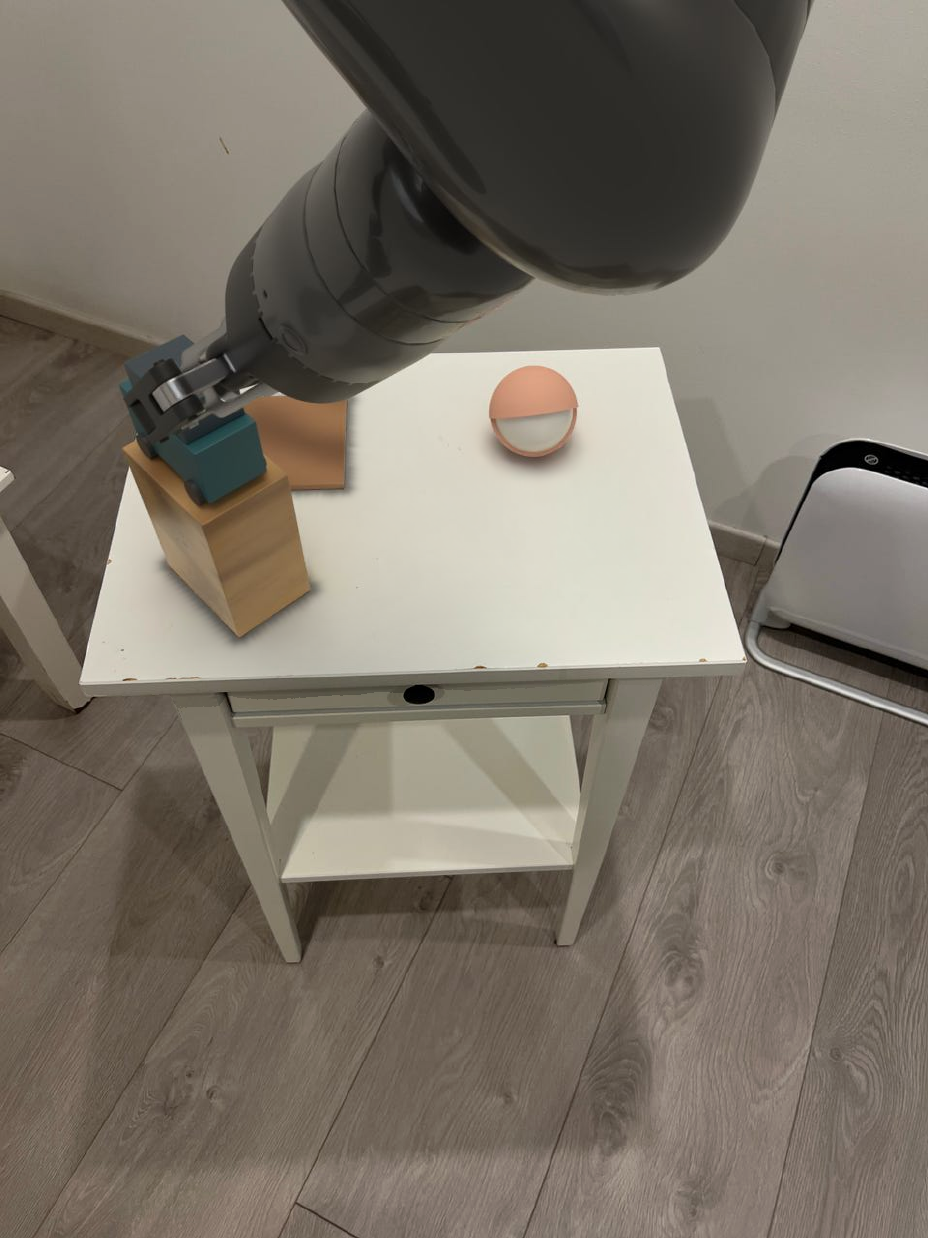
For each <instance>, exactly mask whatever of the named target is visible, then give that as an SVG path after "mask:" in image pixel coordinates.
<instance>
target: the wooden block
mask: <svg viewBox="0 0 928 1238" xmlns="http://www.w3.org/2000/svg"><path fill="white" fill-rule="evenodd" d="M122 452H123V454H124V457H125V459H126V462H127V465H128V467H129V469H130V472H131V474H132V477H133V479H134V482H135V484H136V487H137V489H138V492H139V494H140V497H141V499H142V502H143V505H144V507H145V509H146V511H147V515H148V517H149V520H150V522H151V524H152V527H153V529H154V532H155V534H156V536H157V539H158V541H159V544H160V547H161V550H162V552H163V554H164V557H165V560H166V562H167V564H168V566H169V567H170V568H171V569H172V570H173V572H175V573H176V574H177V575H178V576H179V577H180V578H181V579H182V580H183V582H185V584H187V586H188V587H189V588H190V589H191V590H192V591H193V592H194V593H195V594H196V595H197V596H198V597H199V598H200V599H201V600H202V601H203V602H204V603H205V604H206V605H207V606H208V607H209V609H211V611H213V612H214V614H216V616H217V617H218V618H219V619H220V620H221V621H222V622H223V623H224V624H225V625H226V626H227V627H228V628H229V629H230V630H231V631H232V633H234V634H235V635H236V637H238V638H241V637H243V636H245V635H246V634H248V633H249V632H251V631H252V630H253V629H255V628H256V627H258V626H259V625H261V624H262V623H264V622H265V621H267V620H269V618H271V617H272V616H274V615H275V614H277V613H279V612H280V611H282V610H283V609H284V608H286V607H288V606H289V605H290V604H292V603H293V602H295V601H296V600H298V599H299V598H301V597H303V596H304V595H305V594H306V593H308V592H310V591H311V584H310V579H309V574H308V570H307V564H306V559H305V555H304V550H303V544H302V540H301V534H300V530H299V529H300V528H299V525H298V520H297V519H298V518H297V515H296V509H295V504H294V500H293V494H292V490H291V489H290V484H289V479H288V475H287V474H286V473H285V472H284V471H283V470H282V469H281V468H279V467H278V466H277V465H276V464H275V463H274V462H272V461H271V460H270V459H269V458H268V457H267V456H265V455H264V454H263V455H264V457H265V460H266V463H267V466H266V468H267V471H266V472H264V473H262V474H261V475H259V476H257V477H256V478H254V479H252V480H250V481H249V482H247V483H245V484H244V485H242V486H240V487H238V488H237V489H235V490H233V491H231V492H230V493H228V494H226V495H225V496H223V497H221V498H219V499H218V500H216V501H214V502H213V503H211V504H209V503H208V502H205V503H204V504H202V505H200V506H198V505H196V504H195V503H194V502H193V501H192V499H191V498H190V497H189V495H188V493H187V492H186V490H185V487H184V482H185V480H184V479H183V478H182V477H181V476H180V475H179V474H178V473H177V472H176V471H175V470H174V469H173V468H172V467H171V466H170V465H169V464H168V463H167V462H166V461H165V460H164V459H162V458H161V457H160V456H159V455H157V456H155V457H153V458H151V459H149V458H148V457H147V456H146V455H145V454H144V453H143V452H142V450H141V449H140V447H139V445H138V443H137V441H136V440H133V442H130V443H129V444H127V445H125V446H123V447H122Z"/></svg>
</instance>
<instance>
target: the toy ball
mask: <svg viewBox="0 0 928 1238" xmlns="http://www.w3.org/2000/svg"><path fill="white" fill-rule="evenodd" d="M578 402H579V401H578V398H577V395H576V392H575V390H574V389H573V386H572V385H571V383H570V382H569V381H568V380H567V379H566V378H565V377H564V376H563V375H562V374H561V373H559V372H558V371H556V370H555V369H552V368H551V367H547V366H543V365H526V366H522V367H519V368H517V369H514V370H512V371H511V372H510V373H508V374H507V375H506V376H504V377H503V378H502V379H501V380H500V382H499V383H498V384H497V385H496V387H495V388H494V390H493V393H492V395H491V397H490V402H489V407H488V418H489V419H490V424H491V427H492V430H493V433H494V435H495V436H496V438H497V440H499V442H500V443H501V444H502V445H503V446H504V447H505V448H507V449H508V450H510V451H511V452H512V453H514V454H517V455H520V456H524V457H532V458H533V457H535V458H536V457H543V456H547V455H550V454H552V453H554V452H556V451H557V450H559V449H560V448H562V447H563V445H565V443H566V442H568V440H569V439H570V437H571V435H572V434H573V431H574V429H575V426H576V423H577V418H578V409H577V408H579V403H578Z"/></svg>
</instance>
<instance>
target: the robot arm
mask: <svg viewBox="0 0 928 1238" xmlns="http://www.w3.org/2000/svg"><path fill="white" fill-rule="evenodd" d="M280 1H281V2H282V3H283V5H284V6H285V8H286V9H287V10H288V11H289V13H290V14H291V15H292V17H293V18H294V19H295V21H296V22H297V23H298V25H299V26H300V27H301V29H302V30H303V31H304V32H305V33H306V35H307V37H308V38H309V39H310V41H311V42H312V43H313V44H314V45H315V46H316V48H317V49H318V50H319V51H320V52H321V54H322V55H323V56H324V57H325V58H326V61H328V62H329V63H330V65H331V66H332V67H333V68H334V69H335V71H336V72H337V73H338V74H339V76H340V77H341V78H342V79H343V80H344V82H345V83H346V84H347V85H348V86H349V88H350V89H351V90H352V91H353V93H354V94H355V96H356V97H357V98H358V99H359V100H360V102H361V103H362V104H363V106H364V107H365V108H366V109H364V110H363V111H362V112H361V113H360V115H358V116H357V118H356V119H355V120H354V121H353V123H352V124H351V125H350V126H349V128H348V129H347V130H346V131H345V133H344V134H343V135H342V136H341V138H340V139H339V140H338V141H337V142H336V143H335V145H334V146H333V148H332V149H331V150H330V151H329V152H328V154H327V155H326V156H325V157H324V158H323V160H322V161H320V162H318V163H317V164H316V165H314V166H313V167H311V169H309V170H308V171H307V172H305V173H304V174H302V176H301V177H300V178H299V179H298V180H297V181H296V182H295V183H294V184H293V185H292V187H290V189H288V191H287V192H286V193H285V195H284V196H283V197H282V199H281V200H280V201H279V203H277V205H276V206H275V208H274V209H273V210H272V211H271V213H270V214H269V215H268V216H267V218H266V219H265V220H264V222H263V223H262V224H261V226H259V228H258V229H257V230H256V231H255V233H254V235H252V237H251V238H250V240H249V241H248V242H247V243H246V244H245V246H244V247H243V248H242V250H241V251H240V252H239V254H238V255H237V257H236V258H235V260H234V262H233V264H232V266H231V268H230V271H229V274H228V276H227V281H226V285H225V291H224V293H225V294H224V313H225V316H224V317H222V319H221V321H220V325H219V327H218V328H216V329H215V330H212V332H210V333H208V334H207V335H206V336H204V337H203V338H201V339H199V340H198V341H197V342H194V343H195V344H193V345H192V346H190V347H189V348H187V349H186V350H185V351H183V353H182V355H181V360H182V365H181V367H179V366H178V364H177V362H175V361H174V359H173V358H170V359H167V360H165V361H164V359H161V360H159V361H157V362H155V363H154V364H153V366H154V367H152V368H151V369H149V370H148V371H147V372H146V374H145V375H144V376H143V377H142V378H141V379H140V380H139V381H138V382H137V383H136V385H135V386H134V387H133V388H132V389H131V390H130V391H128V393H127V394H126V396H125V397H124V398H122V400H123V402H124V403H125V404H126V405H127V406H128V408H130V409H131V410H132V412H133V414H134V415H135V417H136V418H137V420H138V421H139V423H140V424H141V426H142V428H143V429H144V431H145V432H146V434H147V435H148V436H147V437H148V439H149V440H150V442H151V444H152V445H154V444H156V443H158V442H160V444H162V443H164V442H166V441H168V440H170V438H169V436H171V435H172V434H175V435H178V434H180V433H181V432H183V431H185V430H187V429H189V428H190V429H192V428H194V427H196V426H197V425H199V423H198V422H199V421H200V420H202V419H204V418H205V417H207V416H209V415H210V414H214V415H216V416H217V417H220V418H223V417H225V416H227V415H230V414H232V413H234V412H236V411H238V410H240V409H241V408H243V407H245V406H246V405H248V404H250V403H251V402H253V401H255V400H256V399H258V398H260V397H262V396H265V397H270V396H275V395H277V394H278V393H280V394H282V395H283V396H288V397H291V398H293V399H296V400H299V401H303V402H308V403H317V404H326V403H335V402H340V401H343V400H346V399H347V400H349V399H351V398H354V397H355V396H357V395H359V394H361V393H363V392H364V391H367V390H368V389H370V388H372V387H374V386H375V385H378V384H379V383H381V382H384V380H387V379H388V378H390V377H392V376H394V375H396V374H397V373H399V372H401V371H403V370H405V369H407V368H408V367H411V366H412V365H414V364H415V363H417V362H419V361H421V360H423V359H424V358H425V357H427V356H429V355H430V354H432V353H433V352H434V351H435V350H437V349H438V348H439V347H440V346H441V345H442V344H443V343H444V342H445V341H447V339H449V337H451V336H452V335H454V334H455V333H457V332H458V331H460V330H462V329H464V328H465V327H467V326H470V325H471V324H472V323H474V322H476V321H478V320H480V319H482V318H483V317H485V316H487V315H489V314H491V313H493V312H494V311H497V309H500V308H501V307H503V306H504V305H506V304H507V303H508V302H510V301H511V300H513V299H514V298H515V297H517V296H518V295H519V294H521V293H522V292H523V291H524V290H525V289H527V287H529V286H530V285H531V284H532V283H533V282H534V281H535V280H536V279H538V280H539V281H542V282H545V283H547V284H550V285H552V286H553V285H554V286H556V287H558V288H561V289H565V290H568V291H571V292H575V293H582V294H587V295H596V296H605V297H607V296H608V297H621V296H630V295H631V296H632V295H637V294H645V293H648V292H653V291H657V290H659V289H662V288H664V287H666V286H669V285H671V284H673V283H676V282H678V281H681V280H682V279H684V278H685V277H687V276H689V275H690V274H692V273H693V272H694V271H696V270H697V269H698V268H700V267H701V266H702V265H703V264H705V263H706V262H707V260H709V259H710V258H711V256H713V255H714V253H716V251H717V250H718V249H719V247H720V246H721V245H722V244H723V242H724V241H725V240H726V238H727V237H728V236H729V234H730V232H731V231H732V230H733V227H734V225H735V224H736V222H737V220H738V218H739V217H740V215H741V213H742V211H743V209H744V207H745V205H746V203H747V201H748V199H749V197H750V194H751V192H752V188H753V186H754V183H755V180H756V177H757V174H758V172H759V169H760V166H761V163H762V160H763V157H764V154H765V151H766V148H767V145H768V142H769V138H770V135H771V133H772V129H773V127H774V124H775V120H776V118H777V114H778V111H779V108H780V104H781V103H782V102H781V101H782V98H783V95H784V93H785V89H786V87H787V83H788V80H789V78H790V74H791V70H792V68H793V64H794V61H795V58H796V55H797V52H798V50H799V49H798V48H799V45H800V43H801V40H802V38H803V36H804V33H805V30H806V27H807V24H808V21H809V18H810V15H811V12H812V10H813V7H814V3H815V0H280ZM247 388H248V389H247ZM243 389H246V390H245V391H243V392H242V393H240V395H237V394H235V393H233V392H232V391H237V390H243ZM201 393H202V394H203V396H204V398H205V403H204V405H202V403H201V401H200V400H199V398H198V397H197V396H198V395H200V394H201ZM127 406H126V407H127ZM128 408H127V409H128Z"/></svg>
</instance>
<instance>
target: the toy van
mask: <svg viewBox="0 0 928 1238" xmlns="http://www.w3.org/2000/svg"><path fill="white" fill-rule="evenodd" d="M195 343H196V342H193V341H192V340H191V339H190V338H189V337H188V336H187V335H185V334H181V335H179V336H177V337H175V338H172V339H170V340H168V341H166V342H164V343H162V344H160V345H158V346H156V347H154V348H152V349H149V350H147V351H145V352H143V353H141V354H139V355H137V356H135V357H133V358H130V359H129V360H127V361H125V362H123V366H124V369H125V372H126V374H127V376H128V379H126V380H124V381H121V382H119V383H118V387H119V389H120V392H121V395H122V397H123V398H124V397H125V396H126V394H127V393H128V391H130V390H131V389H132V388H133V387H134V386H135V385H136V383H137V382H138V381H139V380H140V379H141V378H142V377H143V376H144V375H145V374H146V372H147V371H148V370H149V369H151V368H152V367H154V366H153V364H154V363H155V362H157V361H159V360H161V359H164V361H165V360H167V359H170V358H173V359H174V361H175V362H177V364H178V366H179V367H181V365H182V360H181V355H182V353H183V351H185V350H186V349H187V348H189V347H190V346H192V345H193V344H195ZM240 390H241V389H240ZM240 390H237V391H232V392H233V393H235V394H237V395H240V394H241V391H240ZM197 397H198V398H199V400H200V401H201V403H202V405H204V403H205V398H204V396H203V394H202V393H201V394H200V395H198V396H197ZM123 398H122V399H123ZM126 408H127V411H128V413H129V416H130V419H131V421H132V424H133V427H134V429H135V432H136V435H135V441H137V443H138V445H139V447H140V449H141V450H142V452H143V453H144V454H145V455H146V456H147V457H148V458H149V459H151V458H153V457H155V456H157V455H159V456H160V457H161V458H162V459H164V460H165V461H166V462H167V463H168V464H169V465H170V466H171V467H172V468H173V469H174V470H175V471H176V472H177V473H178V474H179V475H180V476H181V477H182V478H183V479H184V480H185V482H184V487H185V490H186V492H187V493H188V495H189V497H190V498H191V499H192V501H193V502H194V503H195V504H196V505H198V506H200V505H202V504H204V503H205V502H208V503H209V504H211V503H213V502H214V501H216V500H218V499H219V498H221V497H223V496H225V495H226V494H228V493H230V492H231V491H233V490H235V489H237V488H238V487H240V486H242V485H244V484H245V483H247V482H249V481H250V480H252V479H254V478H256V477H257V476H259V475H261V474H262V473H264V472H266V471H267V468H266V466H267V463H266V460H265V457H264V455H263V451H262V446H261V442H260V437H259V433H258V429H257V424H256V421H255V420H254V419H253V418H251V417H250V416H249V415H248V414H247V413H246V412H245V411H244V407H243V408H241V409H240V410H238V411H236V412H234V413H232V414H230V415H227V416H225V417H223V418H220V417H217V416H216V415H214V414H210V415H209V416H207V417H205V418H204V419H202V420H200V421H199V422H198V423H199V425H197V426H196V427H194V428H192V429H190V428H189V429H187V430H185V431H183V432H181V433H180V434H178V435H175V434H172V435H171V436H169V438H170V440H168V441H166V442H164V443H162V444H160V442H158V443H156V444H154V445H152V444H151V442H150V440H149V439H148V437H147V436H148V435H147V434H146V432H145V431H144V429H143V428H142V426H141V424H140V423H139V421H138V420H137V418H136V417H135V415H134V414H133V412H132V410H131V409H130V408H128V406H127V405H126Z"/></svg>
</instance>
